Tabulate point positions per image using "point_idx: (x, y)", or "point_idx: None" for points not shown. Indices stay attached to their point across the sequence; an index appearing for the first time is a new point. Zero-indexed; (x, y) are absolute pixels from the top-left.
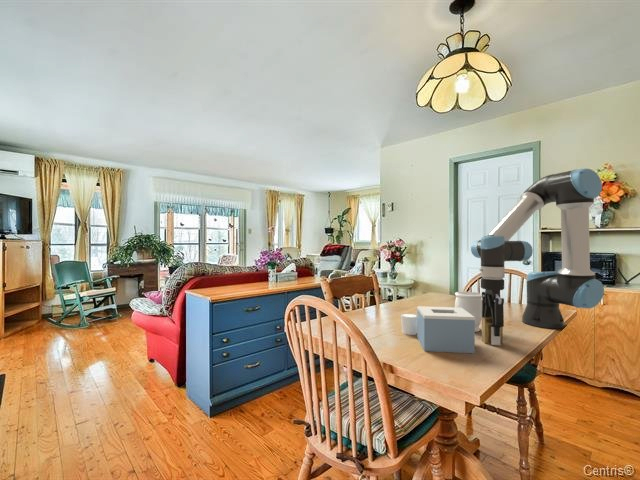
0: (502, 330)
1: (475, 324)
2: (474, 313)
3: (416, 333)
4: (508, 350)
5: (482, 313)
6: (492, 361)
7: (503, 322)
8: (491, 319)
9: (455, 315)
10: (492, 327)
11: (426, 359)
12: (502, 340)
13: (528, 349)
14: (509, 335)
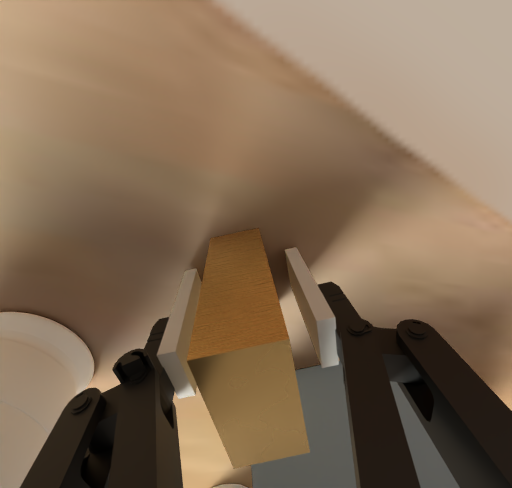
0: (269, 270)
1: (50, 371)
2: (8, 476)
3: (233, 485)
4: (354, 217)
5: (100, 474)
6: (491, 299)
7: (454, 352)
8: (301, 412)
9: None
10: (335, 356)
11: None
12: (261, 238)
13: (313, 92)
14: (8, 143)
